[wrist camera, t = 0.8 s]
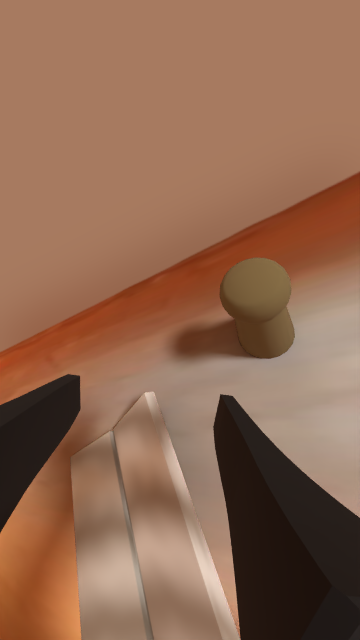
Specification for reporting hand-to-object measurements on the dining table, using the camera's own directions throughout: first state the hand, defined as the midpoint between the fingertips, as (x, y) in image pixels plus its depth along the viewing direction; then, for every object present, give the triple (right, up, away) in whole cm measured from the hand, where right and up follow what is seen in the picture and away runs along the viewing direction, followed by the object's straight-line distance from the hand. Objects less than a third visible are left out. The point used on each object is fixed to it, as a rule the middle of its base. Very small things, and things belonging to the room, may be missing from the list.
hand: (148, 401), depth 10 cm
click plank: (0, -13, +9) cm, 16 cm away
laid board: (-6, -19, +11) cm, 23 cm away
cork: (+12, +3, +13) cm, 17 cm away
